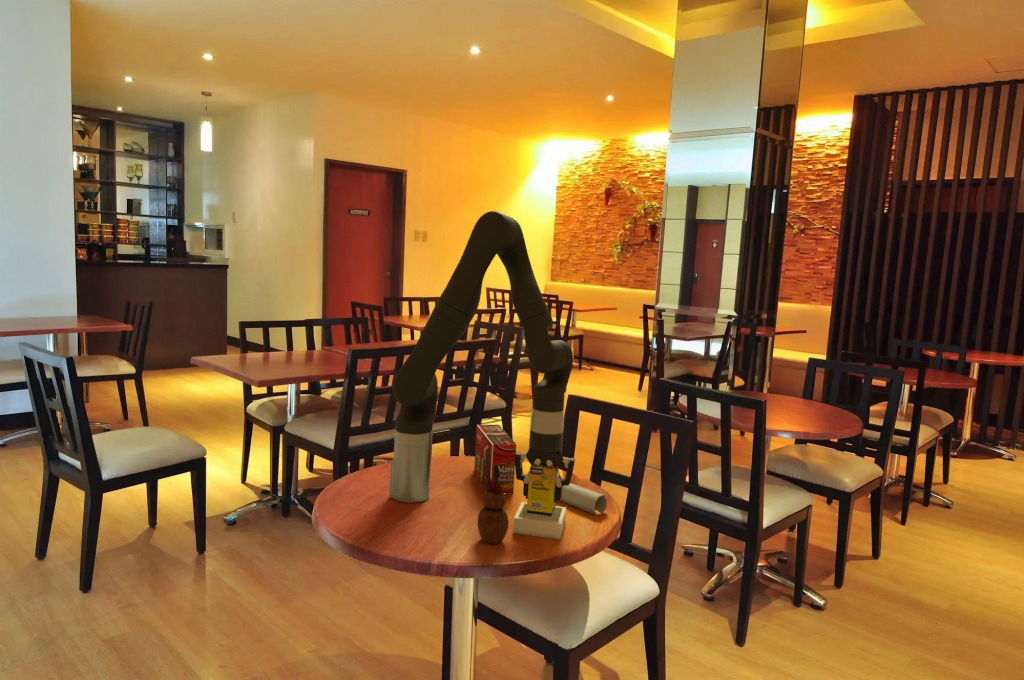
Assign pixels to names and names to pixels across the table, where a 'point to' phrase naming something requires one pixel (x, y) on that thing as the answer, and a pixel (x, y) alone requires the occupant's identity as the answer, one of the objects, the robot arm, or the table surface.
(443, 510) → the table surface
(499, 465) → the ice cream box
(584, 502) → the tube
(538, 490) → the supplement box
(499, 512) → the wooden figurine
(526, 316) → the robot arm
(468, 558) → the table surface
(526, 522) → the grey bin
